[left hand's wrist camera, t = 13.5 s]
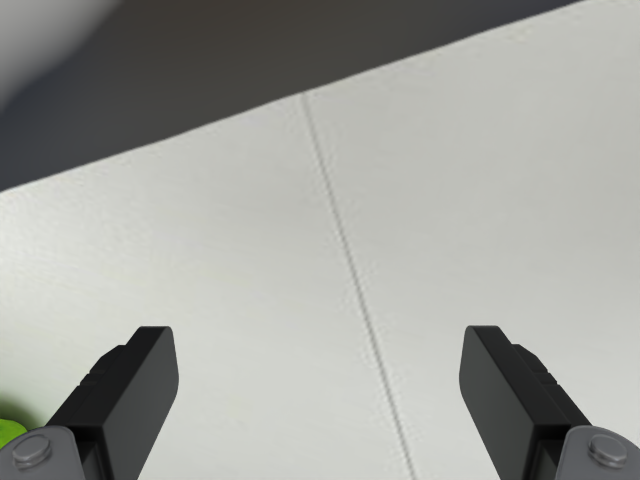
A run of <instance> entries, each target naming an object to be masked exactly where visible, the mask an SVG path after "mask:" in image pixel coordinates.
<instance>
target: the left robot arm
mask: <svg viewBox="0 0 640 480" xmlns="http://www.w3.org/2000/svg"><path fill="white" fill-rule="evenodd" d="M178 383H179V374H178V366H177V359H176V352H175V345H174V338H173V332H172V329H171V328H170V327H169V326H141V327H139V328H138V329H137V331H136V332H135V333H134V335H133V336H132V337H131V338H130V340H129V341H128V342H127V344H126V345H118V346H116V347H115V348H114V349H112V350H111V351H109V352H108V353H106V354H105V355H103V356H102V357H101V358H100V359H99V360H98V361H97V362H96V364H95V365H94V366H93V367H92V369H91V370H90V373H89V374H87V375H86V376H85V377H84V378H83V380H82V381H81V382H80V386H77V387H76V388H75V389H74V391H73V392H72V393H71V394H70V396H69V397H68V398H67V399H66V400H65V402H64V403H63V404H62V405H61V407H60V408H59V409H58V410H57V412H56V413H55V414H54V415H53V416H52V418H51V419H50V420H49V421H48V423H47V424H46V425H45V426H44V427H40V428H36V429H33V430H30V431H28V432H25V433H23V434H21V435H19V436H18V437H16V438H14V439H13V440H11V441H9V442H8V443H7V444H6V445H4V446H3V447H2V448H1V449H0V480H137V479H138V477H139V475H140V473H141V470H142V468H143V466H144V464H145V462H146V460H147V458H148V455H149V453H150V451H151V449H152V447H153V445H154V443H155V440H156V438H157V436H158V434H159V432H160V430H161V428H162V425H163V423H164V421H165V419H166V417H167V415H168V413H169V410H170V408H171V406H172V404H173V402H174V400H175V397H176V394H177V390H178ZM459 384H460V390H461V394H462V397H463V399H464V401H465V404H466V406H467V408H468V410H469V412H470V414H471V417H472V419H473V421H474V423H475V425H476V427H477V430H478V432H479V434H480V436H481V438H482V440H483V443H484V445H485V447H486V449H487V451H488V453H489V456H490V458H491V460H492V462H493V464H494V466H495V469H496V471H497V473H498V475H499V477H500V479H501V480H640V449H639V448H638V447H637V446H636V445H634V444H633V443H632V442H631V441H629V440H627V439H626V438H624V437H622V436H621V435H619V434H617V433H615V432H612V431H610V430H607V429H604V428H600V427H596V426H592V424H591V423H590V422H589V421H588V419H587V418H586V417H585V416H584V414H583V413H582V412H581V411H580V409H579V408H578V407H577V406H576V405H575V403H574V402H573V401H572V400H571V398H570V397H569V396H568V395H567V393H566V392H565V391H564V390H563V388H562V387H561V386H560V385H557V381H556V380H555V379H554V377H553V376H552V375H551V374H550V373H548V370H547V369H546V367H545V366H544V365H543V364H542V362H541V361H540V360H539V359H538V358H537V356H535V355H534V354H533V353H531V352H530V351H528V350H527V349H525V348H524V347H522V346H521V345H519V344H511V342H510V341H509V340H508V338H507V337H506V336H505V334H504V333H503V332H502V330H501V329H500V328H499V327H498V326H468V327H467V328H466V331H465V335H464V343H463V350H462V357H461V364H460V372H459Z"/></svg>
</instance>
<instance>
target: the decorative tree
mask: <svg viewBox="0 0 640 480" xmlns="http://www.w3.org/2000/svg"><path fill="white" fill-rule="evenodd" d="M25 432H27V430H26V428H25V427H24V426H22V425H21V424H19V423H17V422H16V421H12V420H4V419H0V449H1V448H2V447H3V446H4V445H6V444H7V443H8V442H9V441H11V440H13V439H14V438H16V437H18V436H19V435H21V434H23V433H25Z"/></svg>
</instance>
